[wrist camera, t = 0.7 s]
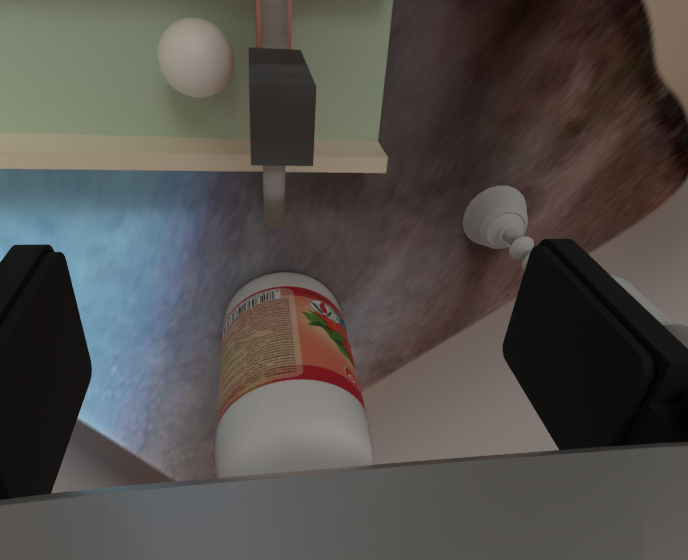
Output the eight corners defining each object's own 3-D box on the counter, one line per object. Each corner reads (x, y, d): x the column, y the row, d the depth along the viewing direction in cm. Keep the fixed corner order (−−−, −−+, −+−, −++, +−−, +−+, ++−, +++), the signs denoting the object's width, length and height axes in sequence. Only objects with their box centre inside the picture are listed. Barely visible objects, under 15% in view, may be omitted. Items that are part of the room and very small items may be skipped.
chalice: (494, 154, 38) (653, 302, 23) (557, 197, 41) (736, 354, 26) (431, 234, 41) (537, 411, 26) (495, 269, 43) (623, 447, 29)
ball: (158, 10, 29) (147, 21, 26) (233, 15, 30) (232, 26, 26) (166, 86, 31) (157, 105, 28) (236, 89, 32) (235, 107, 28)
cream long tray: (-280, -115, 24) (-474, -130, 18) (395, -58, 30) (437, -53, 23) (-163, 140, 31) (-274, 198, 24) (373, 150, 36) (401, 200, 30)
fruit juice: (225, 264, 39) (194, 741, 16) (349, 271, 41) (477, 705, 18) (221, 360, 44) (192, 829, 21) (331, 362, 46) (415, 793, 23)
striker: (244, -119, 26) (243, -151, 15) (293, -114, 27) (326, -142, 16) (252, 185, 35) (254, 302, 24) (289, 185, 35) (307, 301, 24)
